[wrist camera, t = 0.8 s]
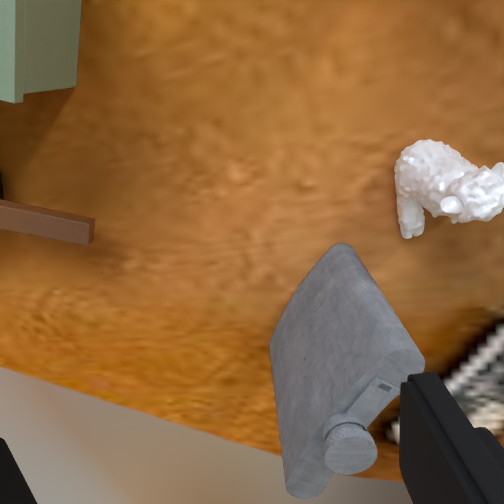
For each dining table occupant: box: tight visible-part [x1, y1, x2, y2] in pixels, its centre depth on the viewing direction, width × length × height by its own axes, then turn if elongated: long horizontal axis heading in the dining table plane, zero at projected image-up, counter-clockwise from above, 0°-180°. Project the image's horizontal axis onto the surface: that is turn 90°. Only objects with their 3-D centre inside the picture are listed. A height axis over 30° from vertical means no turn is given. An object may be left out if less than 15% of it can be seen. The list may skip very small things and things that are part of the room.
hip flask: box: [269, 243, 425, 499], centre depth 37 cm, size 16×4×20 cm, turn 153°
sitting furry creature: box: [394, 139, 504, 239], centre depth 35 cm, size 10×9×12 cm
